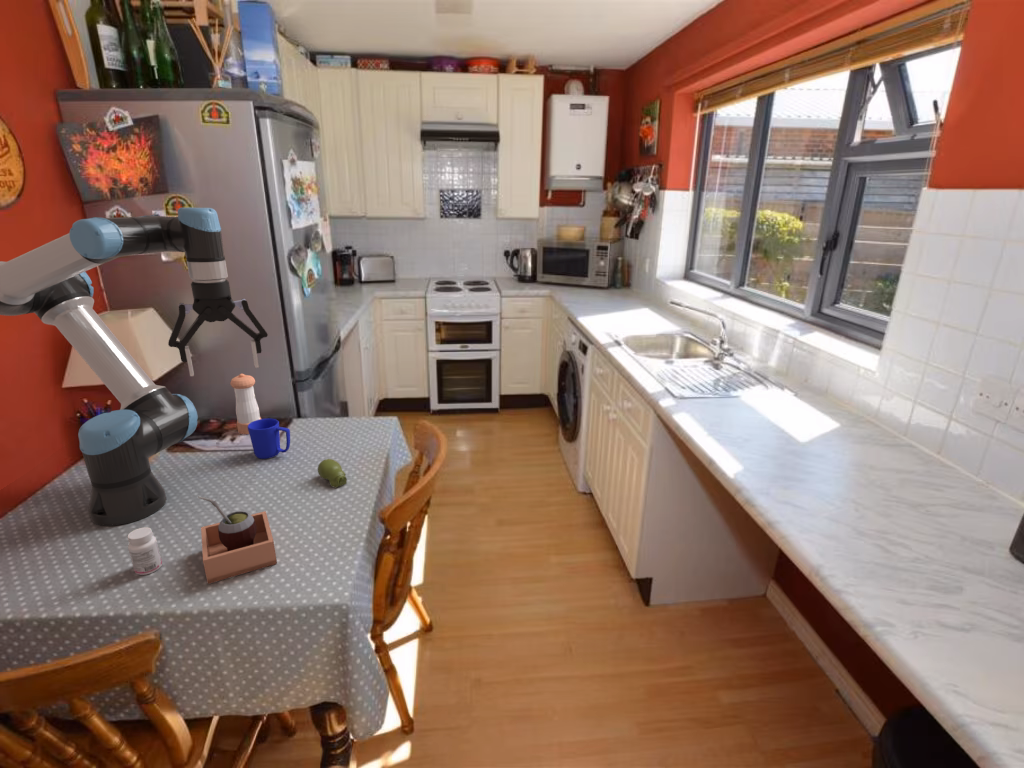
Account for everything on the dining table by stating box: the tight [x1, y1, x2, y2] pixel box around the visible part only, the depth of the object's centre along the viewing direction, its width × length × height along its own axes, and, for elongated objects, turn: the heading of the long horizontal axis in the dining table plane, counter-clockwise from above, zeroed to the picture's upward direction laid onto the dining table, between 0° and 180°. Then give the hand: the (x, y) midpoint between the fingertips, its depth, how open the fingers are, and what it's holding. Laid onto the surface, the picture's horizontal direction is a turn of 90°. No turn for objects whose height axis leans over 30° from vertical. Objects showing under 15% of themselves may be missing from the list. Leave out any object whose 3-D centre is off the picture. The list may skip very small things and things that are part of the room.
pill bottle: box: [127, 526, 163, 576], centre depth 106 cm, size 5×5×8 cm
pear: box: [317, 458, 348, 488], centre depth 141 cm, size 6×5×10 cm
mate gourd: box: [197, 495, 257, 551], centre depth 109 cm, size 8×8×15 cm
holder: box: [200, 510, 278, 585], centre depth 111 cm, size 13×13×6 cm
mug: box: [248, 418, 291, 460], centre depth 153 cm, size 8×12×10 cm
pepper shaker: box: [229, 373, 262, 435], centre depth 168 cm, size 7×7×19 cm
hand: (225, 370), depth 125 cm, fingers open, 13 cm apart
